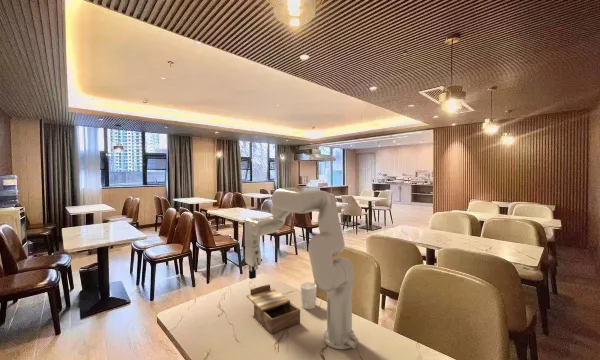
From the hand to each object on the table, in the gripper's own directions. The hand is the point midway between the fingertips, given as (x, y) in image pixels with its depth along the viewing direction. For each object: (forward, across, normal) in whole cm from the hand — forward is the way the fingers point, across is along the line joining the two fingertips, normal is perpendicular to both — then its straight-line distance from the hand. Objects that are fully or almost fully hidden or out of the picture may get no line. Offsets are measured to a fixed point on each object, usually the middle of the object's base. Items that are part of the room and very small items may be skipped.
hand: (252, 277), depth 138 cm
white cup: (+11, -22, -19) cm, 31 cm away
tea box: (+11, -24, 0) cm, 27 cm away
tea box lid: (+5, -16, 0) cm, 17 cm away
